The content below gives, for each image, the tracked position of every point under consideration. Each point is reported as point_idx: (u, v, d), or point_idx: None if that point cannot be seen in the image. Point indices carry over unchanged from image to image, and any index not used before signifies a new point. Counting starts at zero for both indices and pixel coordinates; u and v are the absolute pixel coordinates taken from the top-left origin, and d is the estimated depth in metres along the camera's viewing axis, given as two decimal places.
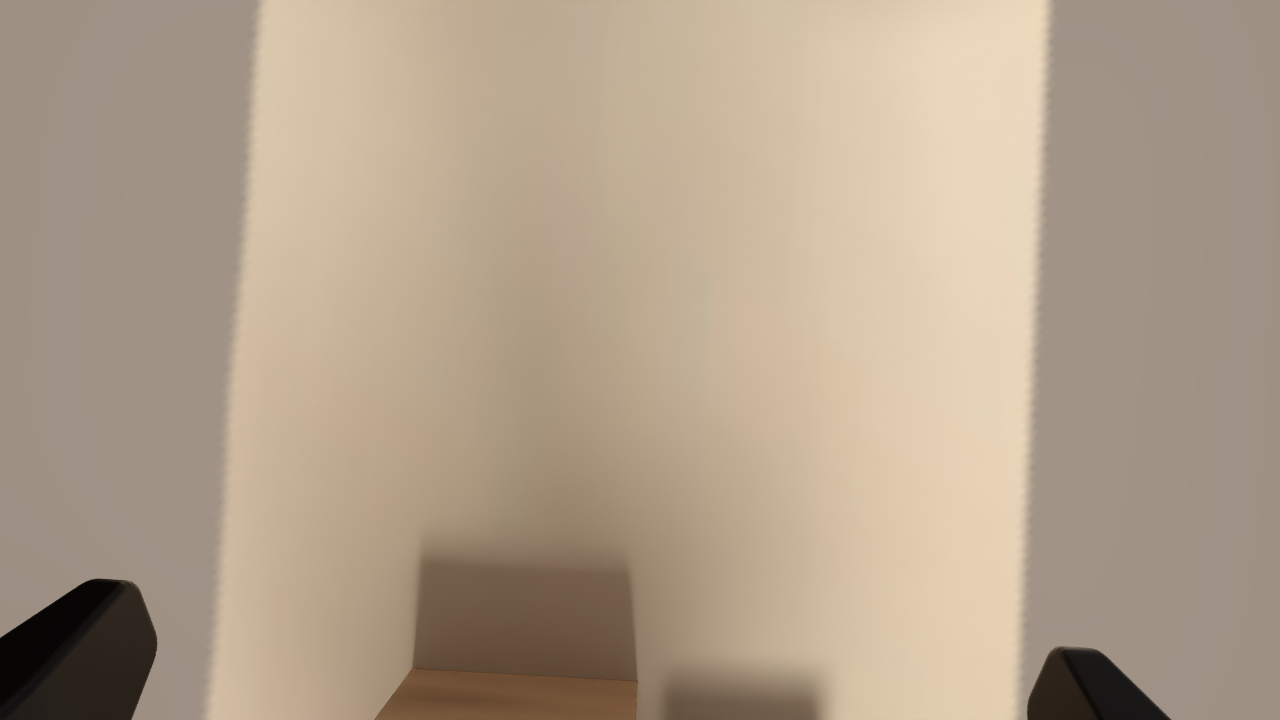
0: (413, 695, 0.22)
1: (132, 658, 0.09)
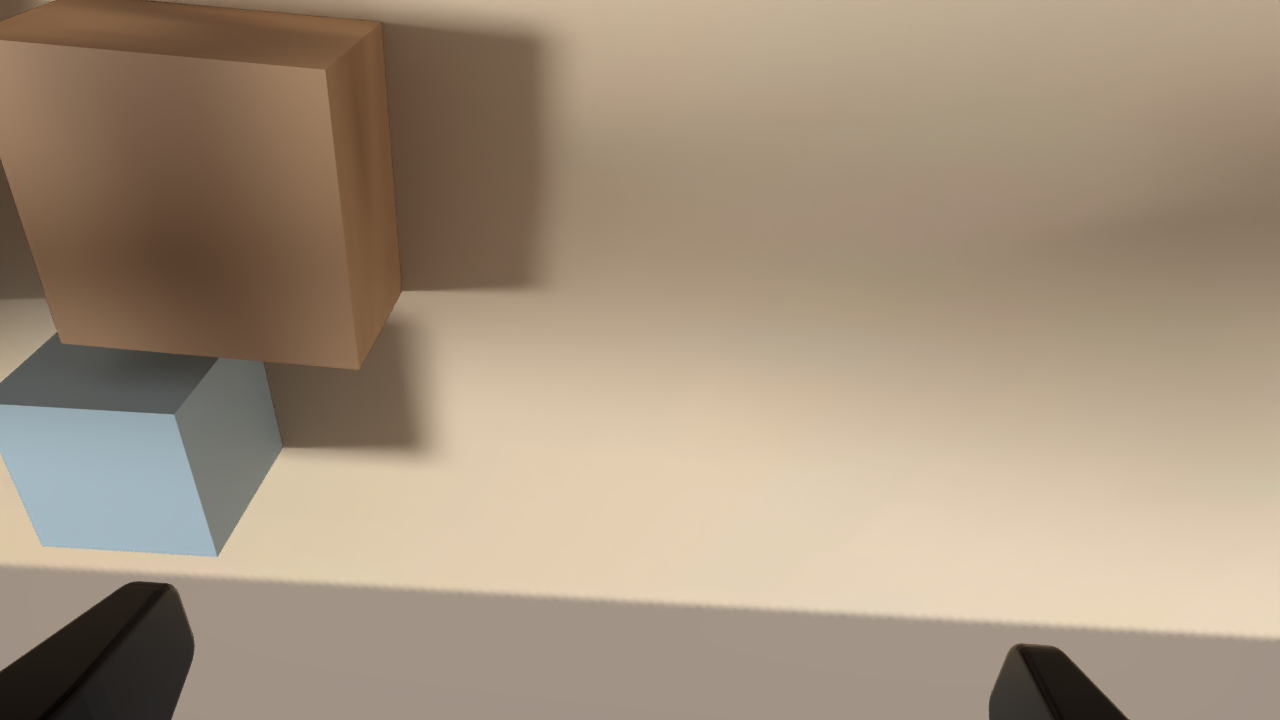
0: (355, 74, 0.16)
1: (171, 660, 0.09)
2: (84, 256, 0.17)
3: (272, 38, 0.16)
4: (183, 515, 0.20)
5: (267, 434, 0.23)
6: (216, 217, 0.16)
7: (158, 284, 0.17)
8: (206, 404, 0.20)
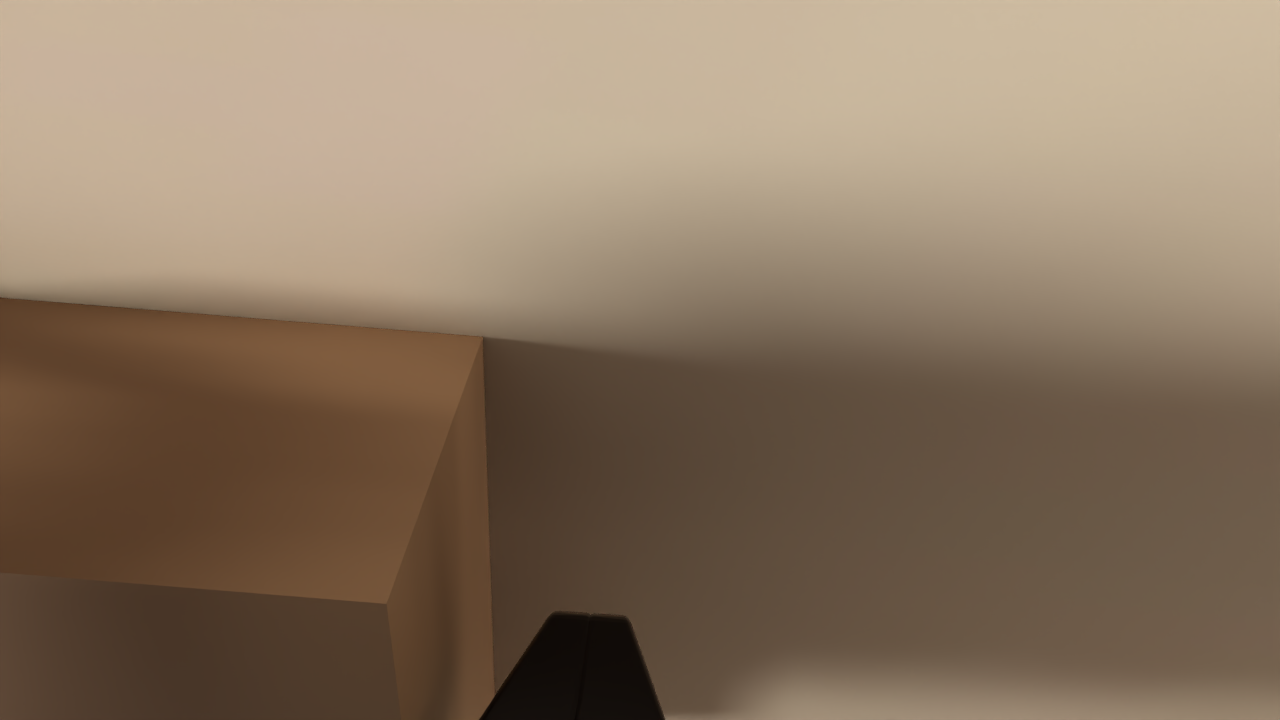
0: (441, 507, 0.08)
1: None
2: None
3: (259, 445, 0.07)
4: None
5: None
6: None
7: None
8: None
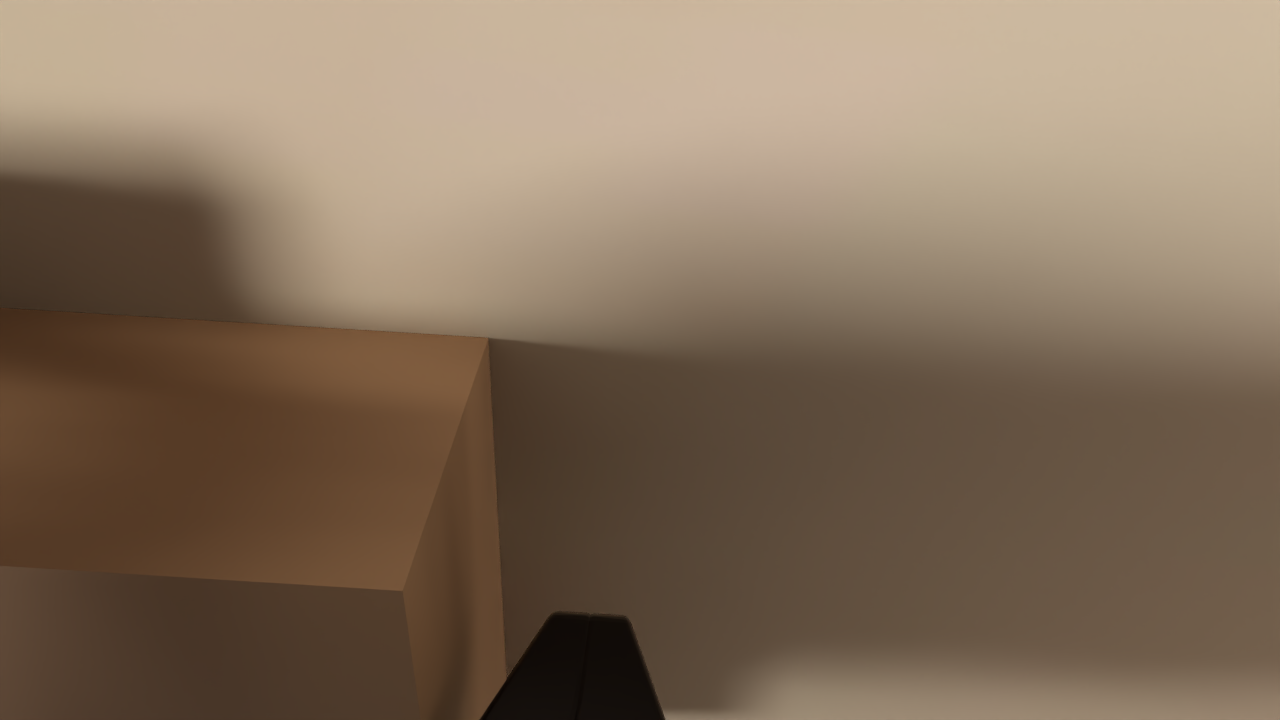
0: (453, 499, 0.08)
1: None
2: None
3: (275, 441, 0.07)
4: None
5: None
6: None
7: None
8: None
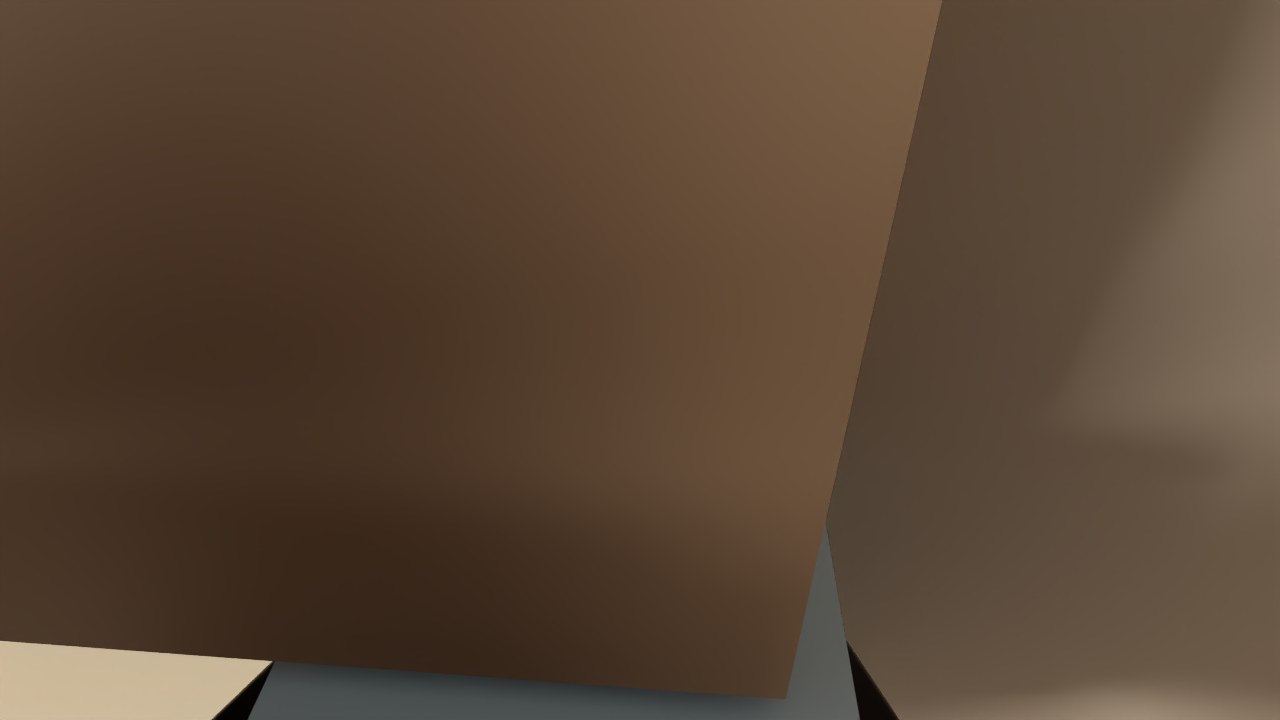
0: None
1: None
2: None
3: None
4: None
5: None
6: (382, 238, 0.04)
7: (162, 469, 0.05)
8: None
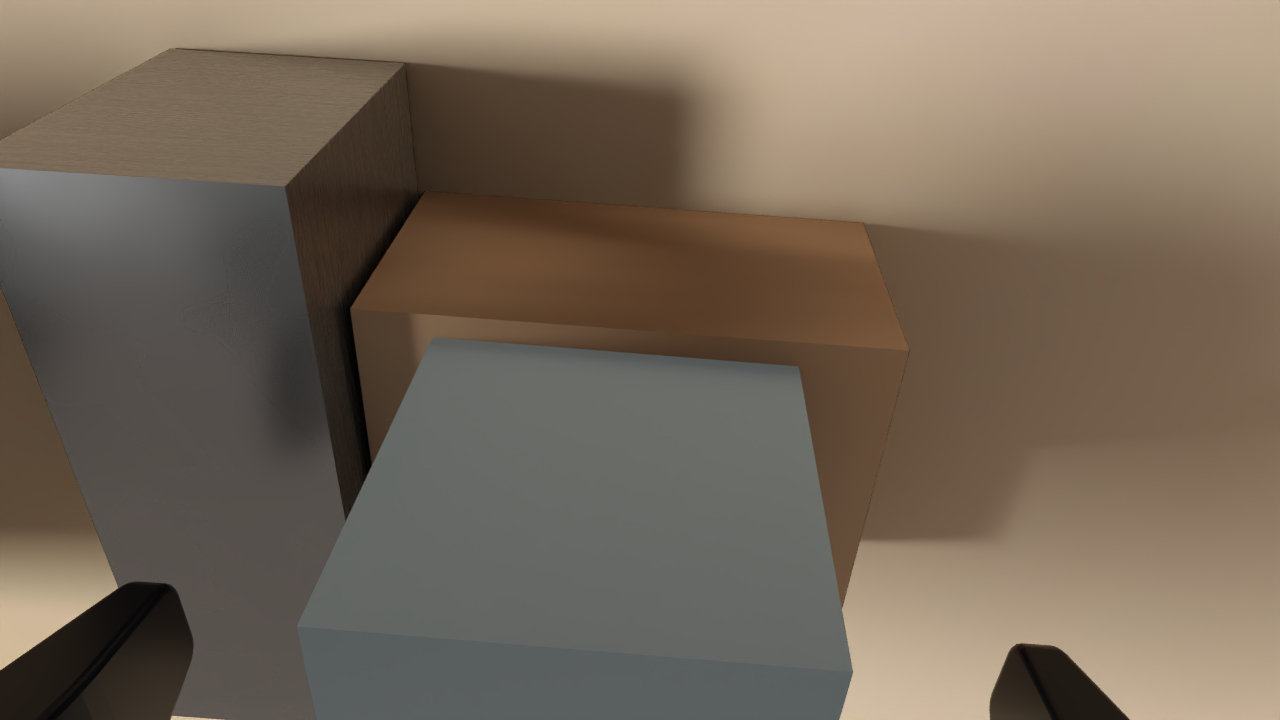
0: None
1: (170, 661, 0.09)
2: None
3: (765, 274, 0.11)
4: None
5: None
6: None
7: None
8: None
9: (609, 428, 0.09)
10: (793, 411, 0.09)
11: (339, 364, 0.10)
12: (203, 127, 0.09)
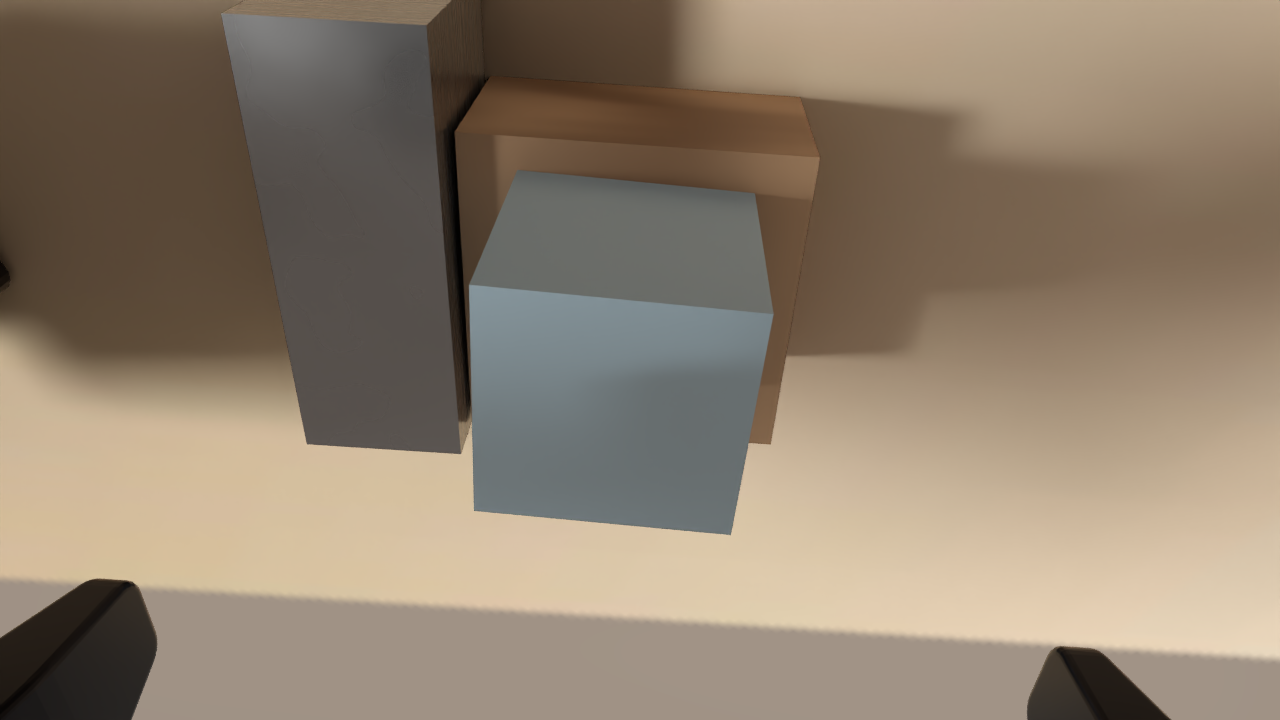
0: None
1: (132, 658, 0.09)
2: None
3: (728, 121, 0.16)
4: (710, 472, 0.13)
5: None
6: None
7: None
8: None
9: (634, 216, 0.14)
10: (749, 213, 0.14)
11: (446, 161, 0.15)
12: None
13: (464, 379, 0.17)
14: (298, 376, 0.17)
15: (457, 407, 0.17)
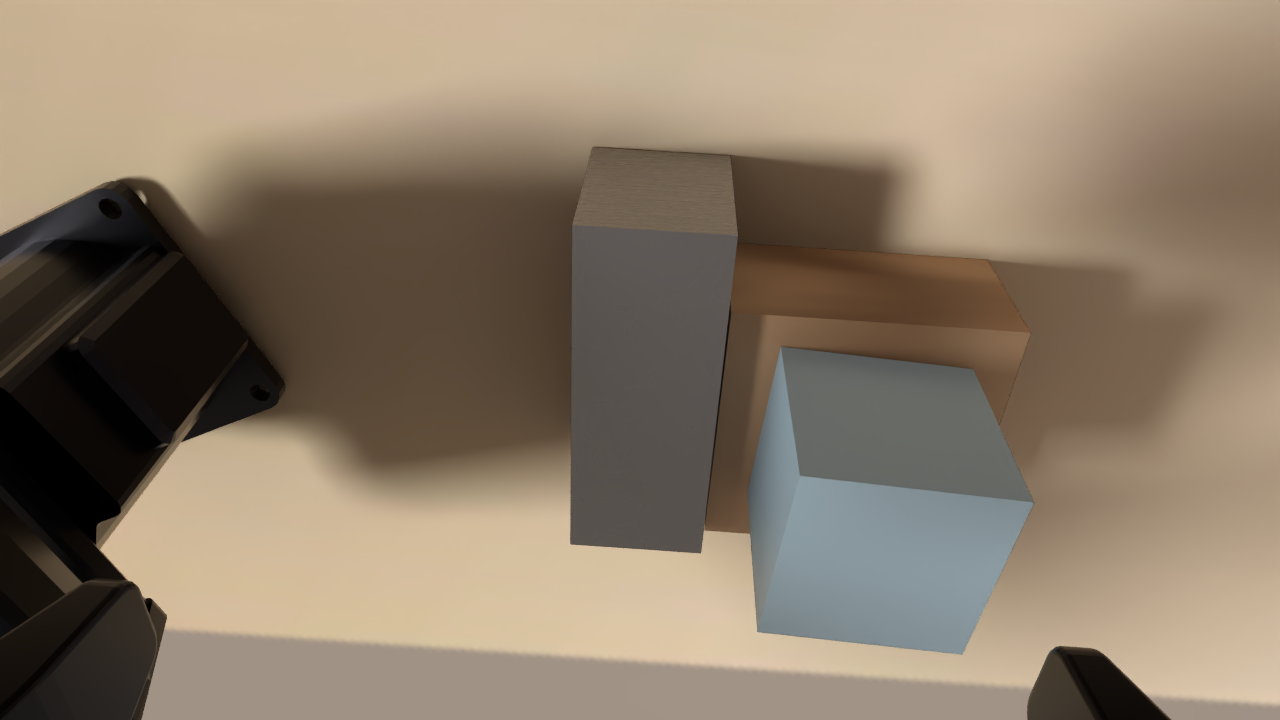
0: None
1: (132, 658, 0.09)
2: None
3: (941, 291, 0.19)
4: (956, 609, 0.17)
5: None
6: None
7: None
8: None
9: (891, 397, 0.17)
10: (977, 392, 0.18)
11: None
12: (665, 201, 0.17)
13: None
14: (574, 491, 0.20)
15: (704, 516, 0.20)
